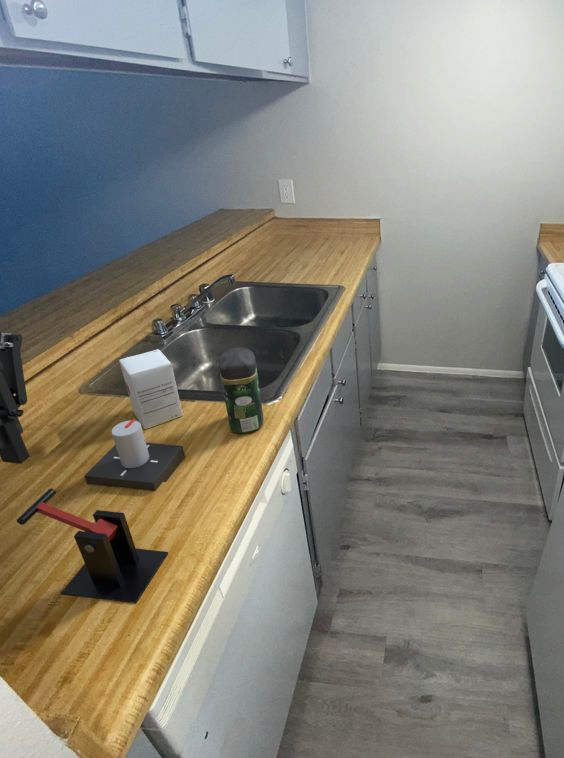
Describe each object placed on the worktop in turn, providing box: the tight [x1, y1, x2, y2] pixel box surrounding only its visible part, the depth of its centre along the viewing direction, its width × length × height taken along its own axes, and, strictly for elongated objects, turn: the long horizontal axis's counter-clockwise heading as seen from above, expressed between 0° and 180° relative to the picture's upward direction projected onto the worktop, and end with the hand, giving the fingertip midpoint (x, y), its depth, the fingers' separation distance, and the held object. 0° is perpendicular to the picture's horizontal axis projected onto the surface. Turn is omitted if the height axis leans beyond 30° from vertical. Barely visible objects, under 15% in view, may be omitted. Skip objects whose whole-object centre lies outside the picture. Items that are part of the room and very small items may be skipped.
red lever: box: [16, 488, 117, 541], centre depth 70 cm, size 12×6×2 cm, turn 85°
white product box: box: [118, 348, 183, 430], centre depth 110 cm, size 9×9×15 cm
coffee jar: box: [218, 347, 264, 434], centre depth 108 cm, size 10×8×19 cm
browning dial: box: [111, 418, 149, 468], centre depth 93 cm, size 5×5×8 cm
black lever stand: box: [60, 509, 169, 604], centre depth 73 cm, size 12×9×12 cm
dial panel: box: [84, 442, 186, 492], centre depth 96 cm, size 14×11×3 cm
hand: (16, 459), depth 65 cm, fingers closed
